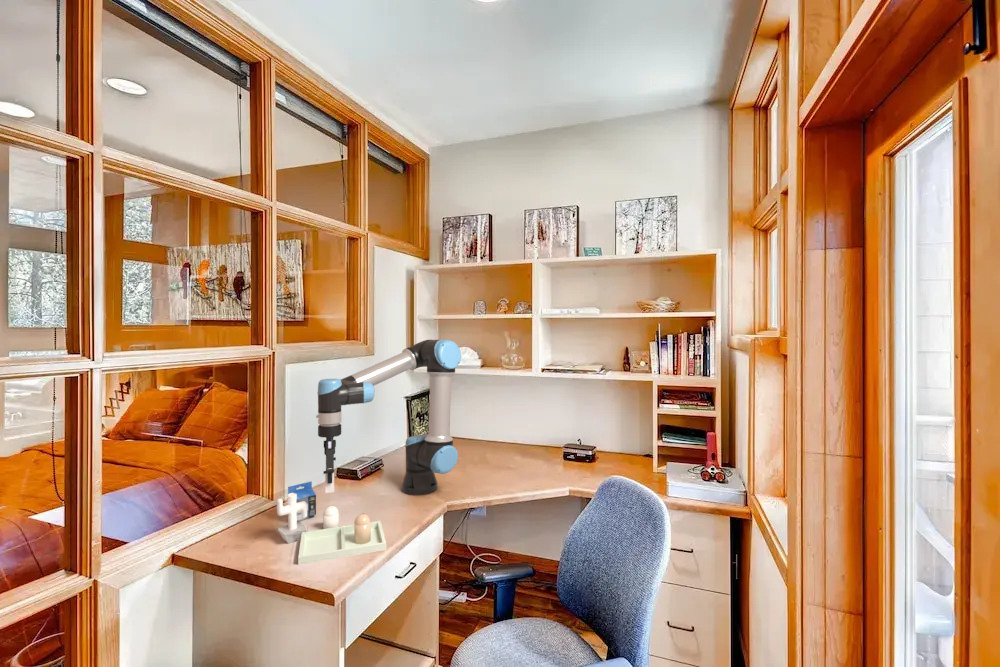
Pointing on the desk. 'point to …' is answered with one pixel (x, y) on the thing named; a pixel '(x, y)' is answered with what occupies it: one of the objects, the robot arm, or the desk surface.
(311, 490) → the label tape cartridge
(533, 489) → the desk surface
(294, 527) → the figurine
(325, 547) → the tray
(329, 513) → the cream domed cylinder
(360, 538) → the tan domed cylinder
